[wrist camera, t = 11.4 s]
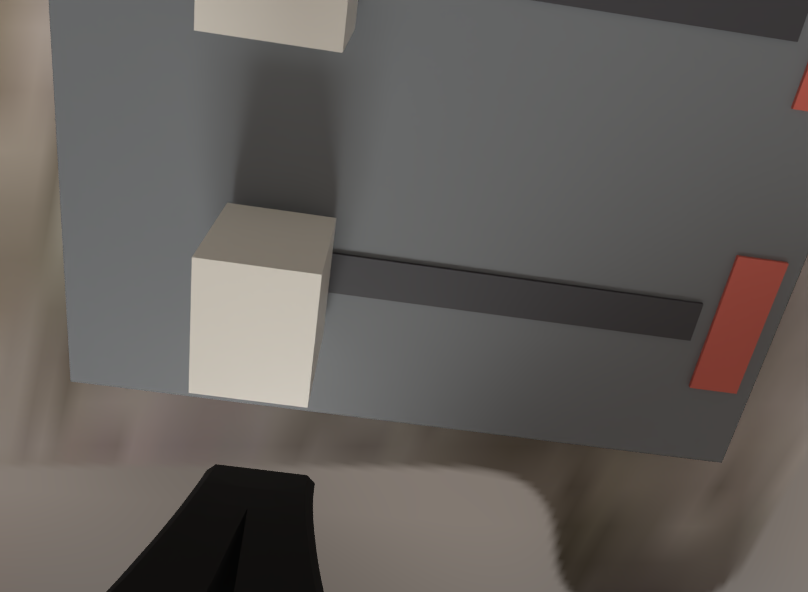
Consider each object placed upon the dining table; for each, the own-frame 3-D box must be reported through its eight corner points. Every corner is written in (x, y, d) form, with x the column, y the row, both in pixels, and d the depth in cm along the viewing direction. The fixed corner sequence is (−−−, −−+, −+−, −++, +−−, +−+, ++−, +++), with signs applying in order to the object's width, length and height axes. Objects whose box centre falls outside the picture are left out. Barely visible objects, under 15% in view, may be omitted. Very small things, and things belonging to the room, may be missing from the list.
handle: (221, 321, 18) (188, 393, 15) (227, 202, 17) (191, 257, 14) (323, 335, 18) (307, 408, 15) (336, 217, 17) (322, 274, 14)
